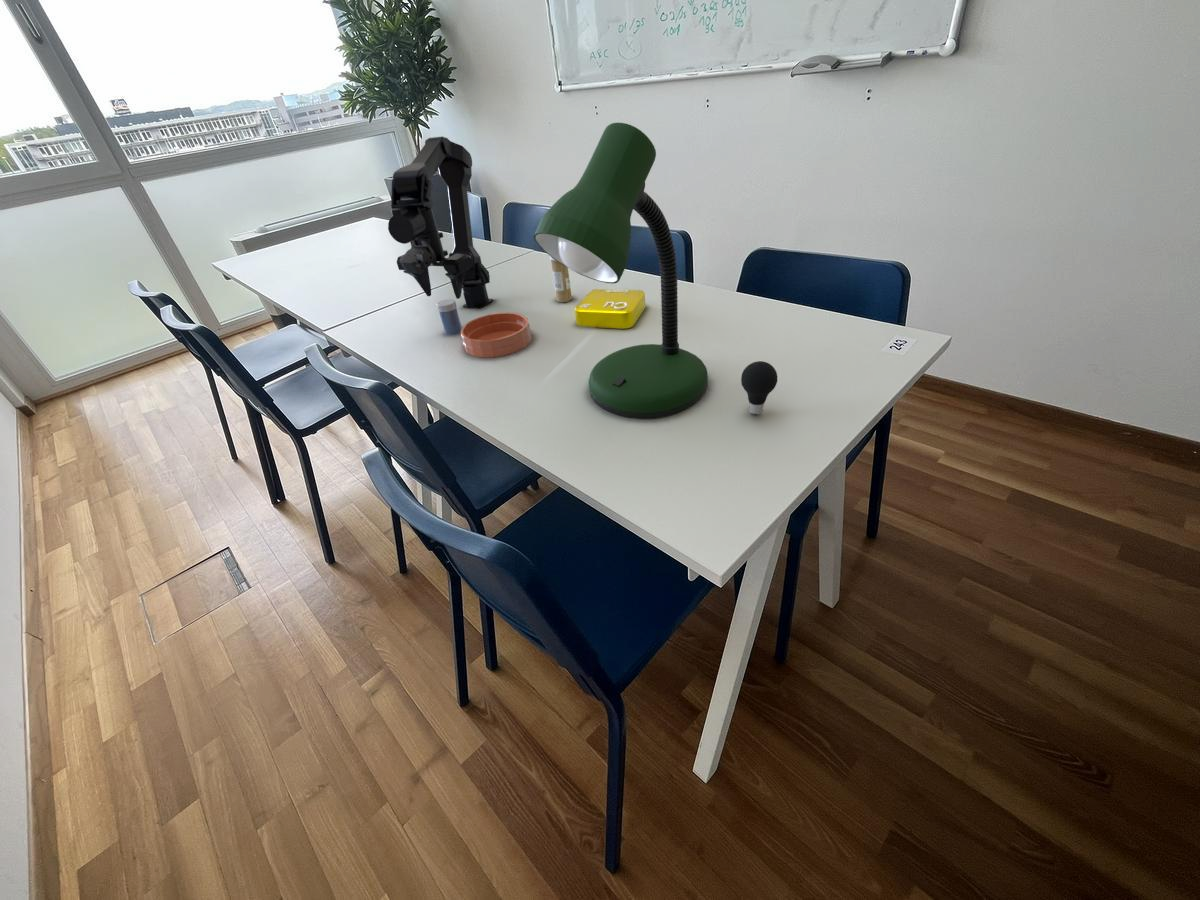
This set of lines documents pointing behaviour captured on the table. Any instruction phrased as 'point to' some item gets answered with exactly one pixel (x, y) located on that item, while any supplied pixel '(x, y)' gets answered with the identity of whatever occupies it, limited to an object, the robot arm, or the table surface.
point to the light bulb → (758, 384)
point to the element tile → (610, 308)
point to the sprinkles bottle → (561, 281)
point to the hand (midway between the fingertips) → (443, 297)
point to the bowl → (496, 335)
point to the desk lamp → (600, 252)
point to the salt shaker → (449, 316)
